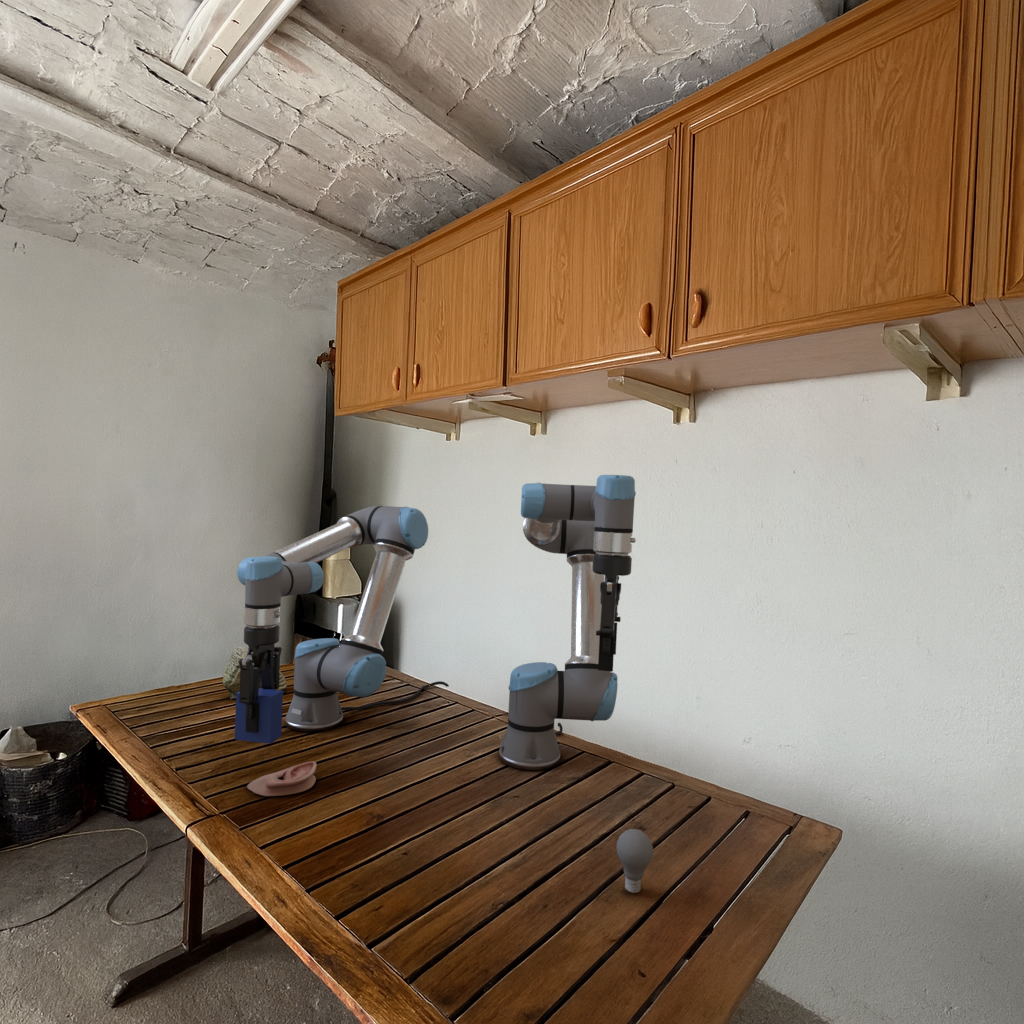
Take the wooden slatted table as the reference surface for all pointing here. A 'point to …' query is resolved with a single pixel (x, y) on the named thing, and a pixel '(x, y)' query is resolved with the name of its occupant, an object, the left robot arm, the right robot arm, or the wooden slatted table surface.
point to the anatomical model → (285, 781)
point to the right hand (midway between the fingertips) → (607, 661)
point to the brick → (261, 717)
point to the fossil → (233, 673)
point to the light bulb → (634, 857)
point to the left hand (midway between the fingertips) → (258, 727)
